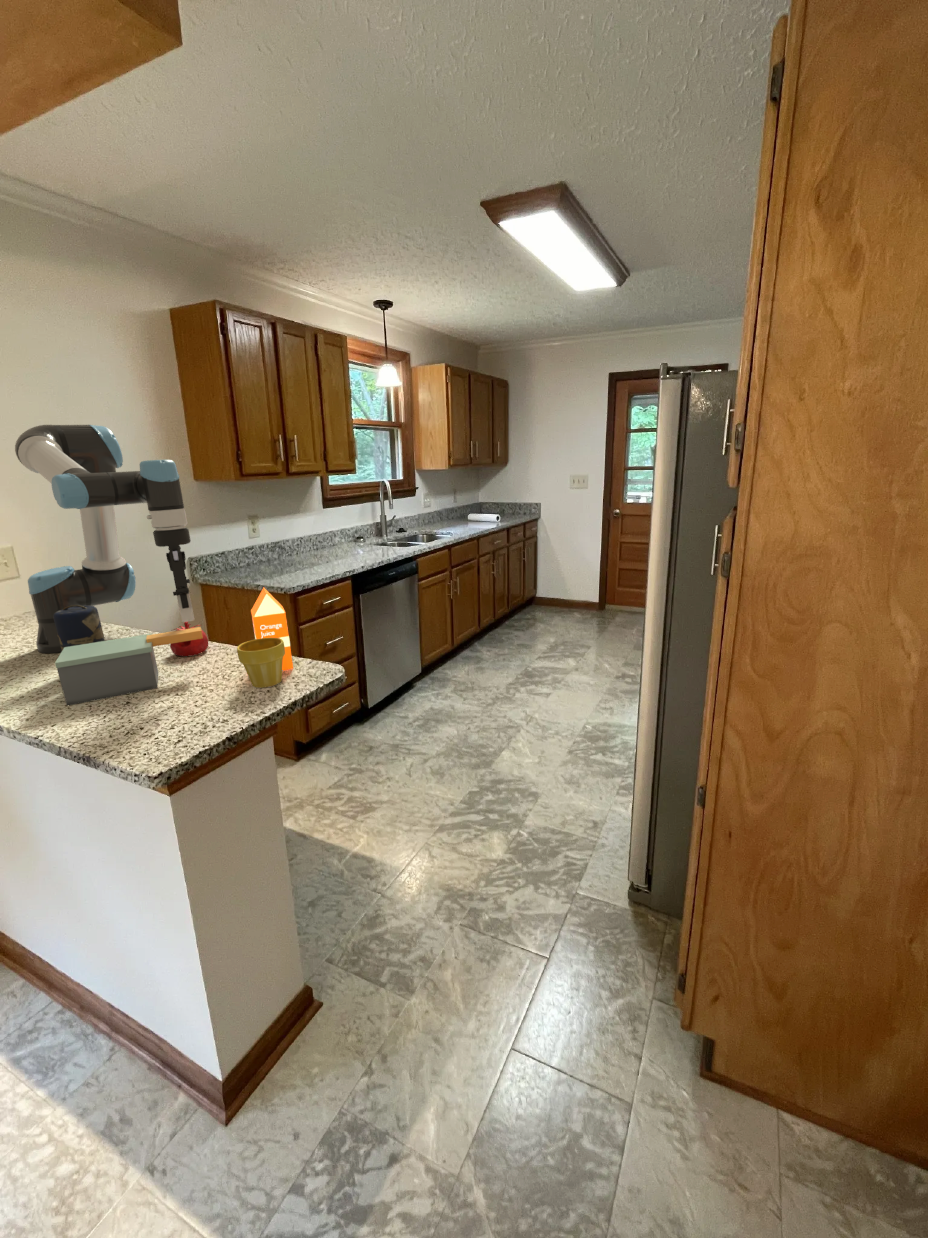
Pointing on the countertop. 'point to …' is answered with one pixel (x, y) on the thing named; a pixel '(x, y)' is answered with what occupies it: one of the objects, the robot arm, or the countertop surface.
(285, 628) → the orange juice
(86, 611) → the canister
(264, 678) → the plant pot
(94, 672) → the tub
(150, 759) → the countertop surface
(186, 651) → the pomegranate
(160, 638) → the lid
